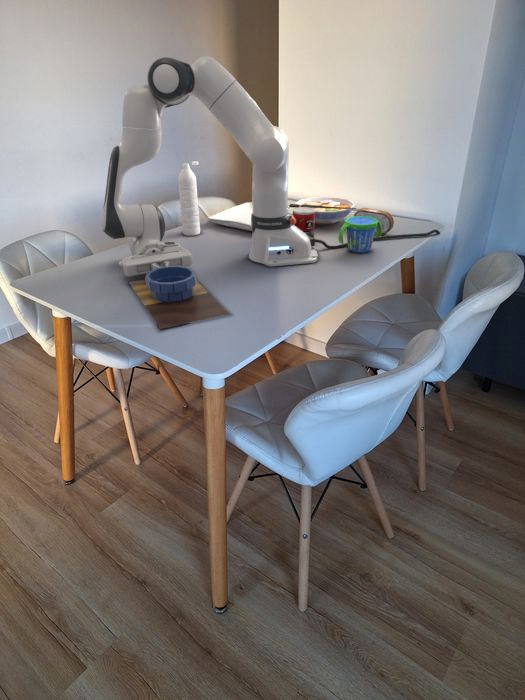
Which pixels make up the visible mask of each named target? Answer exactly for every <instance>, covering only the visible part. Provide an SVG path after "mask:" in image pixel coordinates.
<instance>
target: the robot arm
mask: <svg viewBox="0 0 525 700" xmlns="http://www.w3.org/2000/svg"><path fill="white" fill-rule="evenodd" d="M146 79H147V84H145V85H139V84H138V85H133V86H130V87H129V88H128V89H127V90H126V91H125V93H124V97H123V103H122V120H121V121H122V122H121V123H122V134H121V138H120V141H119V143H118V145H115V146H114V147H113V148H112V150H111V153H110V157H109V163H108V170H107V177H106V187H105V194H104V202H103V207H102V208H103V209H102V212H101V216H100V225H101V228H102V229H101V230H102V232H103V233H104V234H105V235H107V236H108V237H109V238H111V239H113V240H119V239H125V238H128V240H127V241H128V248H129V250H130V253H131V254H132V255H130V256H125V257H123V258H122V260H120V261H118V265H119V267H121V268H122V269H123V273H124V275H125V276H126V277H135V276H140V275H146V274H147V273H148V272H149V271H152V270H154V269H157V268H160V267H165V266H184V267H191V266H192V265H193V256H192V253H191V251H190V250H188V249H187V248H186V247H184V246H181V245H180V243H179V242H178V241H163V240H164V237H165V235H166V220H165V217H164V214H163V212H162V211H161V209H160V208H159V207H158V206H157V205H155V204H147V203H146V204H144V203H143V204H123V203H121V196H122V189H123V188H122V187H123V181H124V177H125V174H126V173H127V172H128V171H129V170H131V169H132V168H135V167H137V166H139V165H143V164H145V163H147V162H149V161H151V160H153V159H154V158H156V157H157V155H158V154H159V152H160V151H161V149H162V143H163V142H162V141H163V125H162V122H163V121H162V118H163V112H164V110H165V109H167V108H170V107H175V106H178V105H181V104H182V103H184V102H185V101H187V100H188V98H189V97H190V96H193V97H195V98H196V99H198V100H199V101H200V102H201V103H202V104H203V105H204V106H205V107H206V108H207V109H208V110H209V111H210V113H211V114H212V115H213V116H214V117H215V118H216V119H217V121H218V122H219V123H220V124H221V125H222V126H223V127H224V128H225V130H226V131H227V132H228V133H229V134H230V136H231V137H232V139H233V140H234V141H235V143H236V144H237V145H238V147H239V148H240V150H241V151H242V152H243V153H244V155H245V156H246V157H247V158H248V160H250V162H251V163H252V181H251V199H252V200H251V201H252V202H251V203H252V208H253V213H252V215H251V229H252V231H251V233H252V234H251V244H250V250H249V254H248V259H250V261H252V262H254V263H259V264H263V265H264V266H267V267H271V268H272V267H281V266H282V267H283V266H293V265H304V264H313V263H315V262H317V260H318V258H319V257H318V252H317V250H316V249H315V248H314V247H315V246H316V243H319V244H321V245H323V246H324V247H325V248H327V249H329V250H334V249H341V248H344V247H345V248H346V247H348V243H347V242H346V243H343V244H341V243H340V244H339V245H329V244H327V243H326V242H325V241H324V240H322V239H317V238H315V237H314V238H313V237H311V236H309V235H307V234H306V233H304V232H303V231H301V230H300V229H299V228H297V227H296V226H295V223H296V219H295V218H294V216H293V215H292V213H291V214H290V213H288V208H289V155H290V154H289V153H290V142H289V137H288V135H287V134H286V132H285V131H284V130H283V129H282V128H280V126H279V127H278V126H276V125H273V124H272V122H271V121H270V120H269V119H268V117H267V116H266V115H265V113H264V112H263V111H262V109H261V107H259V105H258V104H257V102H256V101H255V100H254V98H253V97H252V96H251V95H250V94H249V93H248V91H247V90H246V89H245V88H244V87H243V86H242V85H241V83H240V82H238V80H237V79H236V78H235V77H234V76H233V74H232V73H230V72H229V71H228V69H226V67H224V66H223V65H222V64H221V63H220V62H219V61H217V59H215V58H213V57H212V56H209V55H203V56H201V57H199V58H197V59H196V60H195V61H194V62H193V63H192V64H189V63H187V62H184V61H181V60H179V59H176V58H172V57H167V56H165V57H160V58H158V59H156V60H155V61H153V62H152V64H151V65H150V66H149V68H148V72H147V77H146ZM434 233H436V234H438V235H440V234H441V232H440V230H438V229H432V230H429V231H428V232H421V233H403V234H392V235H391V234H390V235H381V237H377V236H374V237H373V241H379V240H386V239H387V240H389V239H397V238H413V237H415V238H416V237H427V236H430V235H432V234H434Z"/></svg>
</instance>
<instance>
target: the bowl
mask: <svg viewBox="0 0 525 700" xmlns="http://www.w3.org/2000/svg"><path fill="white" fill-rule="evenodd" d="M167 276H169V277H167ZM182 276H183V277H182ZM162 277H163V278H162ZM187 277H188V278H187ZM159 278H160V279H159ZM144 280H146V287H147V288H148V289H149V290H150V291H151V296H152V297H154V298H155V299H156V300H159V301H162V302H178V301H182V300H185V299H187V298H188V297H190V296H191V295H192V294H193V290H194V289H193V287H194V286H195V284H196V281H197V272H196V271H195V270H194V269H193V268H191V267H190V266H186V267H184V266H165V267H160V268H157V269H154V270H152V271H149V272H148V273H146V274H145V276H144Z"/></svg>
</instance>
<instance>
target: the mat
mask: <svg viewBox="0 0 525 700" xmlns="http://www.w3.org/2000/svg"><path fill="white" fill-rule="evenodd" d="M144 307H145V309H146V310H147V311H148V313H149V314H150V316H151V317H152V319H153V320H154V322H155V323H156V326H157V328H158V329H159V330H160V331H163V330H168V329H172V328H177V327H181V326H186V325H191V324H192V323H194V322H199V321H203V320H207V319H213V318H217V317H221V316H227V315H230V313H229V312H228V311H227V310H226V309H225V308H224V307H223V306H222V305H221V304H220V303H219V301H217V300H216V299H215V298H214V297H213V296H212V294H210V293H209V292H208V293H205V294H200V295H195V296H190V297H188V298H187V299H185V300H182V301H178V302H160V303H155V304H150V305H144Z"/></svg>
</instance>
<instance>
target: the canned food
mask: <svg viewBox="0 0 525 700" xmlns="http://www.w3.org/2000/svg"><path fill="white" fill-rule="evenodd" d="M292 209H293V216H294V218H295V219H296V223H295V226H296V227H297V228H299V229H300V230H301V231H303V232H304V233H306V234H307V235H309V236H311V237H313V238H315V224H316V223H315V210H314V209H313V208H310V207H293V208H292Z"/></svg>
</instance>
